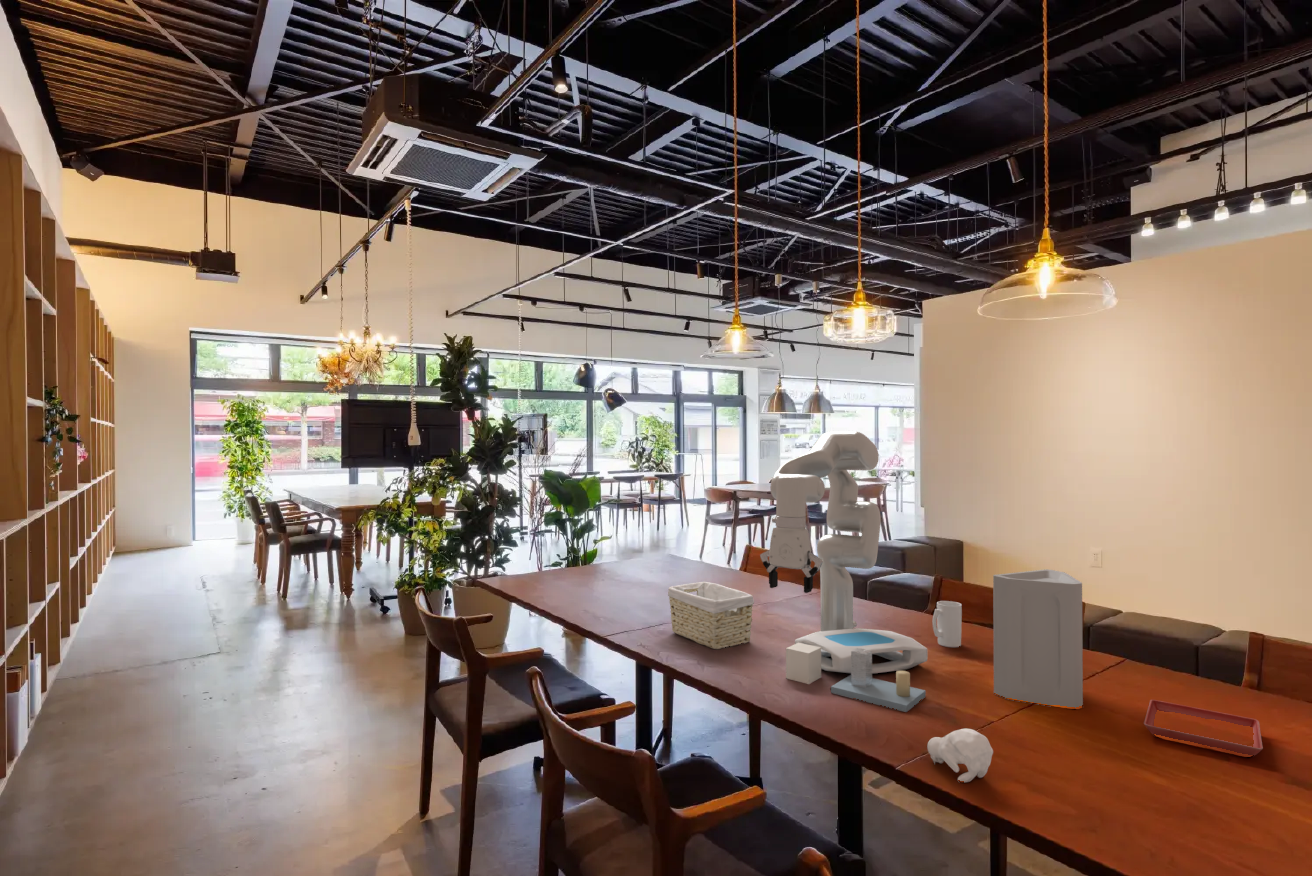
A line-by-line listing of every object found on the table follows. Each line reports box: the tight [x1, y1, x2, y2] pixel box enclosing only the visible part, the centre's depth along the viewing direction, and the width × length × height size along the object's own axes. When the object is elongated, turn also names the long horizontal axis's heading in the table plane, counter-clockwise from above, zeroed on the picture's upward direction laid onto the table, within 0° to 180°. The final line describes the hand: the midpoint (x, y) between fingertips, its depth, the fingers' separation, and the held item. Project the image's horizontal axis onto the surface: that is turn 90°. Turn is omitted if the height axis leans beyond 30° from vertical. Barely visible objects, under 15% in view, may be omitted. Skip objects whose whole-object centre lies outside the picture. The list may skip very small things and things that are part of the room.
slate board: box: [830, 670, 927, 713], centre depth 161 cm, size 12×18×6 cm, turn 49°
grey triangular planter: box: [992, 569, 1084, 708], centre depth 159 cm, size 19×15×28 cm
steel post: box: [850, 648, 873, 688], centre depth 164 cm, size 4×4×8 cm
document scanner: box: [794, 627, 929, 675], centre depth 184 cm, size 21×28×6 cm
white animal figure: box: [926, 727, 994, 783], centre depth 124 cm, size 6×8×12 cm
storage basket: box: [667, 581, 755, 650], centre depth 209 cm, size 24×16×15 cm
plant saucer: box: [1143, 699, 1264, 756], centre depth 139 cm, size 18×18×3 cm
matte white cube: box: [785, 643, 822, 685], centre depth 173 cm, size 6×6×8 cm
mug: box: [931, 600, 963, 648], centre depth 201 cm, size 10×7×12 cm, turn 116°
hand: (790, 589), depth 177 cm, fingers open, 9 cm apart
